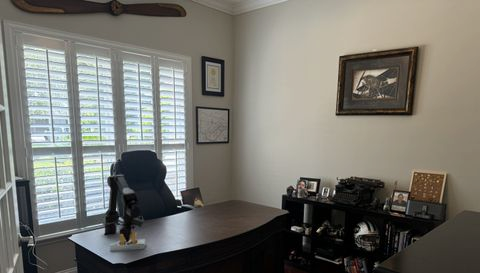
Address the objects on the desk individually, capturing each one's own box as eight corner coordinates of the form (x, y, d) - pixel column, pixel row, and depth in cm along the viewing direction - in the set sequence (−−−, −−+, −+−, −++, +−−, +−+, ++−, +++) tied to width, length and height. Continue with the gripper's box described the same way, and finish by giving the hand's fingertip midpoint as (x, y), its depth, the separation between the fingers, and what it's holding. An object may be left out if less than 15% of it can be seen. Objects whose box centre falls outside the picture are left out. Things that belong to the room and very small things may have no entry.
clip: (120, 245, 159) (120, 235, 159) (121, 243, 162) (121, 233, 162) (135, 244, 161) (135, 234, 161) (136, 242, 163) (136, 232, 163)
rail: (110, 251, 156) (110, 245, 156) (113, 246, 163) (113, 241, 163) (143, 248, 160) (143, 243, 160) (145, 244, 166) (145, 239, 166)
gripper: (140, 218, 154) (140, 246, 154) (145, 209, 172) (144, 234, 172) (119, 219, 151) (119, 247, 151) (126, 210, 170) (125, 235, 170)
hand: (128, 240), depth 161 cm, fingers closed on clip, 3 cm apart
